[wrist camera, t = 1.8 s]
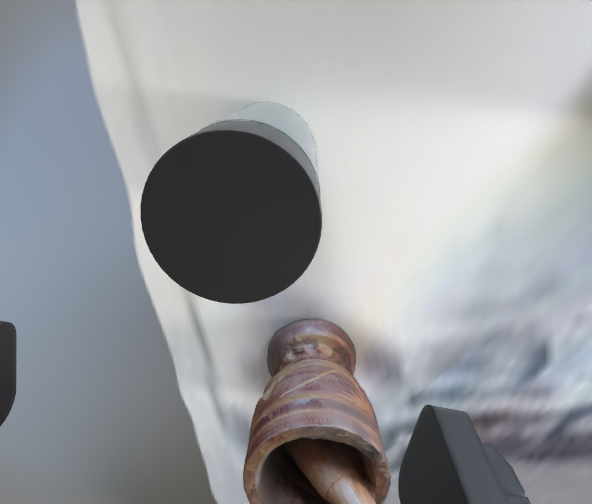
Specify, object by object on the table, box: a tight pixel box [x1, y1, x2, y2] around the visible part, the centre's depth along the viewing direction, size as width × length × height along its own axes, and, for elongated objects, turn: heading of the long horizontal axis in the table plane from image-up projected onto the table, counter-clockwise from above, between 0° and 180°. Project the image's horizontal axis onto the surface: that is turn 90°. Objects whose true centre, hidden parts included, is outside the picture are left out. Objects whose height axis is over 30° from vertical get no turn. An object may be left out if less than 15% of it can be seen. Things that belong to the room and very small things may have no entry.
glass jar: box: [201, 102, 320, 192], centre depth 26 cm, size 7×7×16 cm
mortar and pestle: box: [243, 319, 391, 504], centre depth 30 cm, size 12×9×20 cm
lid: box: [141, 120, 322, 304], centre depth 20 cm, size 7×7×3 cm
